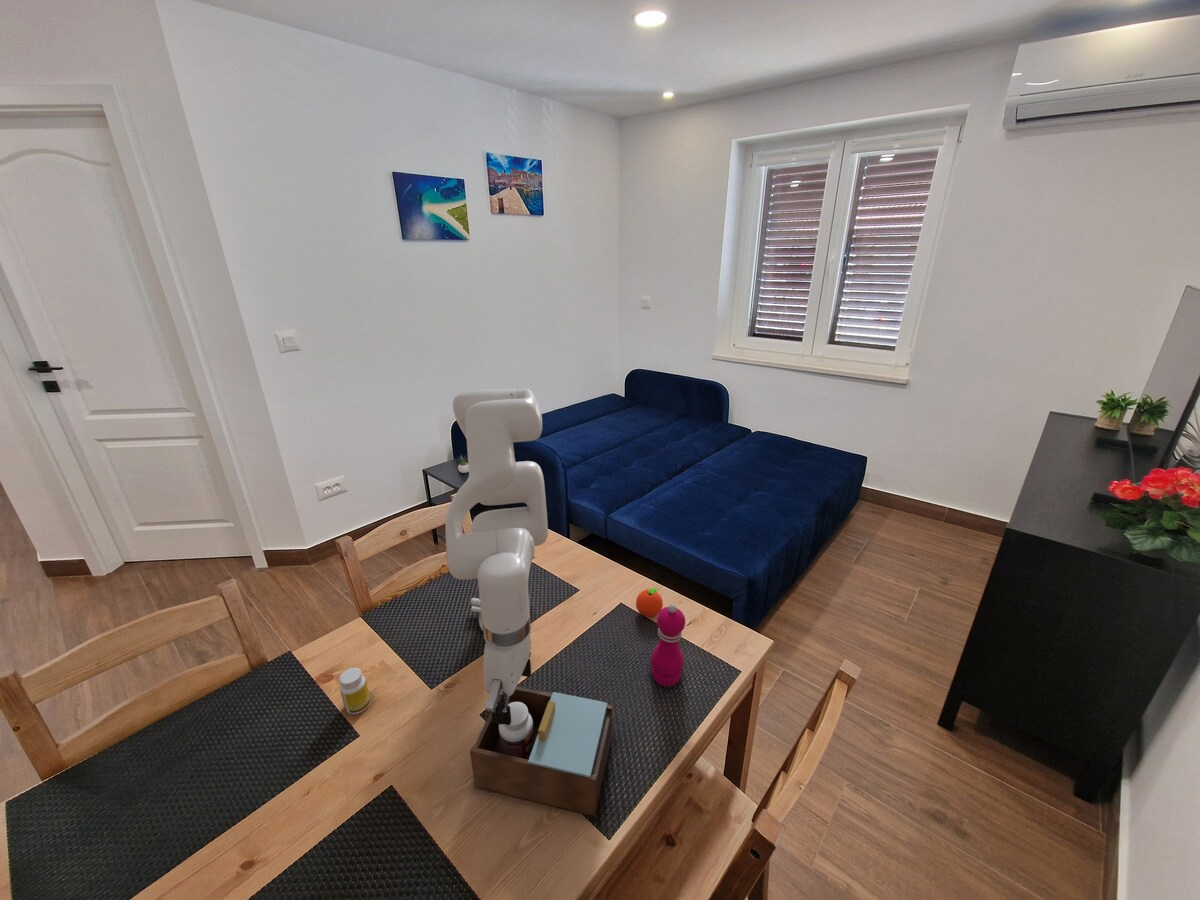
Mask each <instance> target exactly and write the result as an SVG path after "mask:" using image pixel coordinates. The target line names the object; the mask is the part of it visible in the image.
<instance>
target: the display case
mask: <svg viewBox="0 0 1200 900" xmlns="http://www.w3.org/2000/svg"><path fill="white" fill-rule="evenodd" d="M501 689H502V687H501ZM552 693H553V692H548V691H543V690H538V689H533V688H528V687H524V686H523V687H522V686H518V685H517V687H516V689H515V691H514V693H513V694H512V695H511V696H510V697H509V703H508V704H510V703H512V702H521V703H523V704H525V705H526V707H527V709H528V713H529V714H530V715H531V717H532V720H533V733H534V743H535V741H536V738H537V735H538V729H539V727H540V724H541V721H542V718H543V715H544V713H545V710H546V707H547V704H548V702H549V701H550V699H551V696H552ZM504 697H505V696H504V695H500V694H499V697H498V700H497V702H501V703H503V702H504ZM612 728H613V705H612V704H607V708H606V712H605V717H604V721H603V725H602V730H601V734H600V738H599V743H598V747H597V751H596V755H595V760H594V764H593V768H592V773H591V777H590V778H589V777H584V776H580V775H576V774H571V773H567V772H563V771H559V770H554V769H550V768H546V767H541V766H537V765H533V764H529V763H528V760H527V759H522V758H518V757H514V756H509V755H505V754H501V748H500V737H499V724H497V723H496V722H494V721H492V713H489V715H488V716H487V718H486V720H485V722H484V724H483V727H482V729H481V731H480V732H479V735H478V737H477V739H476V741H475V744H474V745H473V746H471V747H470V749H469V756H470V762H471V770H472V777H473V784H474V788H475V789H479V790H481V791H487V792H490V793H495V794H498V795H503V796H507V797H511V798H515V799H518V800H523V801H527V802H531V803H535V804H539V805H542V806H547V807H551V808H555V809H559V810H563V811H567V812H571V813H575V814H579V815H583V816H587V817H591V818H596V816H597V812H598V807H599V802H600V798H601V797H600V796H601V793H602V788H603V782H604V778H605V774H606V768H607V763H608V759H609V754H610V749H611V744H612V733H613V732H612V730H613V729H612Z"/></svg>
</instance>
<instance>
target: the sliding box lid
mask: <svg viewBox="0 0 1200 900" xmlns="http://www.w3.org/2000/svg"><path fill="white" fill-rule="evenodd" d="M551 693H552V696H551V699H550V701H549V702H548V704H547V707H546V710H545V713H544V715H543V718H542V721H541V724H540V727H539V729H538V735H537V738H536V741H535V743H534V746H533V749H532V752H531V755H530V757H529V760H528V763H529V764H533V765H537V766H541V767H546V768H550V769H554V770H559V771H563V772H567V773H571V774H576V775H580V776H584V777H589V778H590V777H591V773H592V768H593V764H594V760H595V755H596V751H597V747H598V743H599V738H600V734H601V730H602V725H603V721H604V717H605V712H606V708H607V705H608V702H605V701H602V700H595V699H591V698H587V697H581V696H576V695H571V694H567V693H566V694H565V693H561V692H555V691H552V692H551Z"/></svg>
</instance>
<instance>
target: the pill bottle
mask: <svg viewBox="0 0 1200 900" xmlns="http://www.w3.org/2000/svg"><path fill="white" fill-rule="evenodd" d="M508 706H510V712H511V724H510V725H506V724H502V725H501V724H499V737H500V748H501V754H505V755H509V756H514V757H518V758H522V759H527V760H529V757H530V755H531V752H532V749H533V746H534V733H533V720H532V717H531V715H530V714H529V713H528V709H527V707H526V705H525V704H523V703H521V702H512V703H510V704H508Z"/></svg>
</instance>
